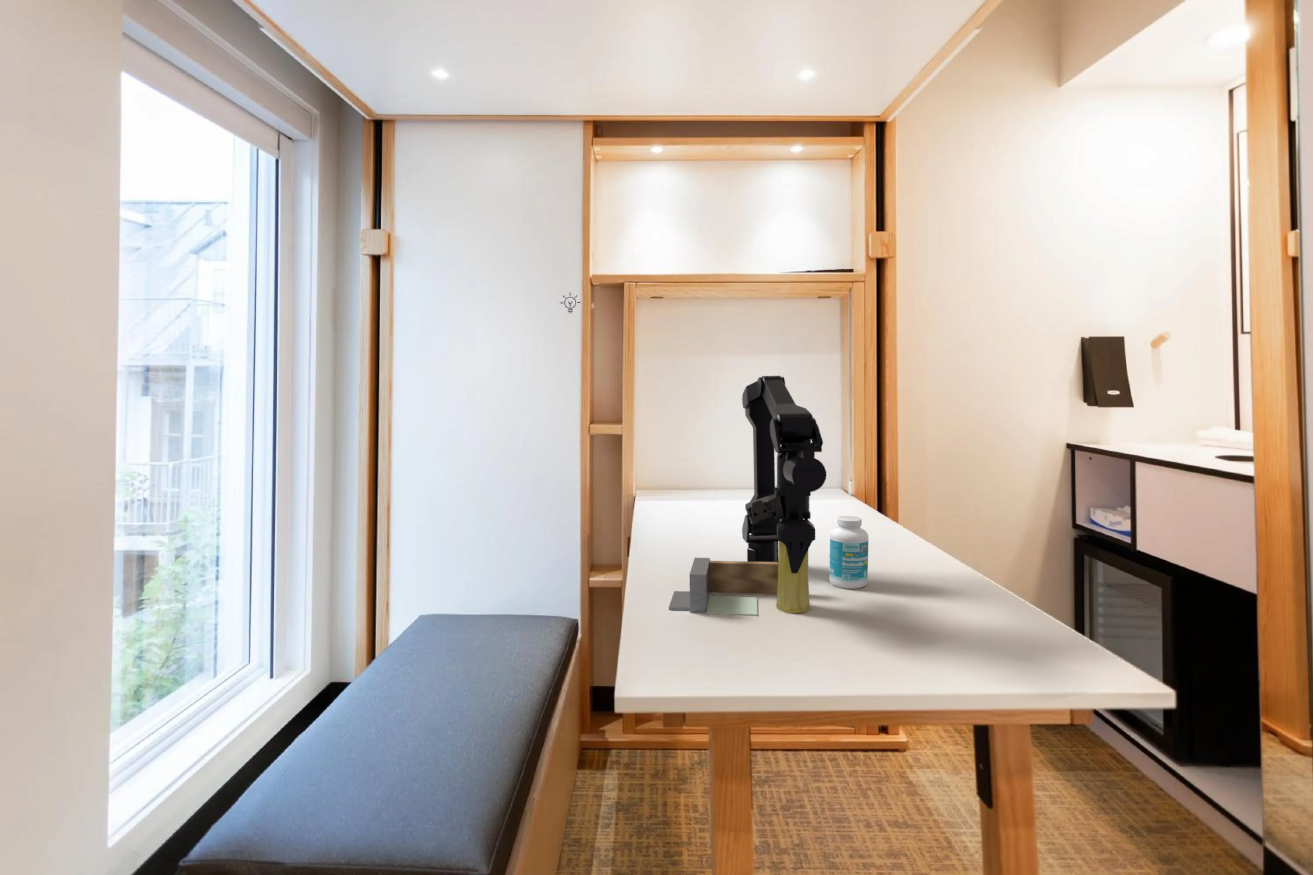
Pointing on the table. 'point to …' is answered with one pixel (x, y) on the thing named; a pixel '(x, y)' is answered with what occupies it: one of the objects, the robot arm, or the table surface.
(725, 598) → the mat
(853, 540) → the pill bottle
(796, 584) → the vase
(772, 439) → the robot arm
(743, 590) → the back rail
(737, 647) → the table surface
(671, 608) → the bookend
